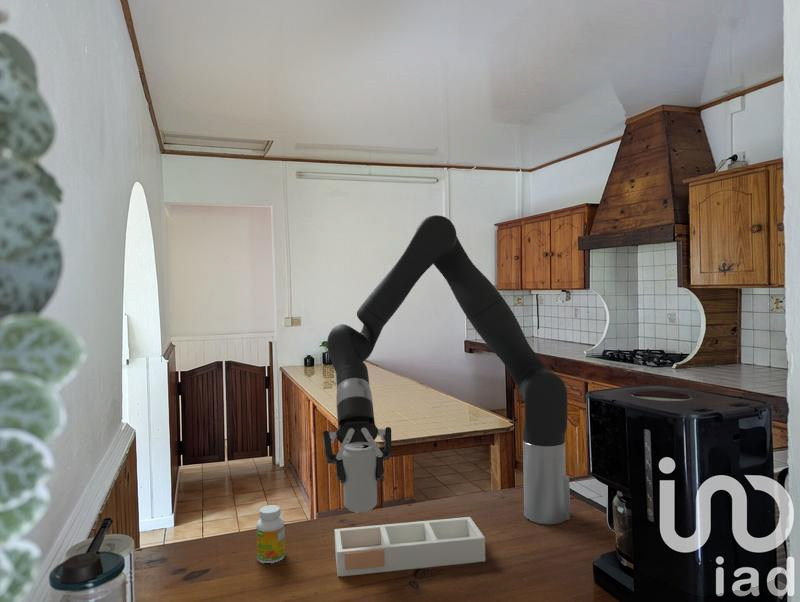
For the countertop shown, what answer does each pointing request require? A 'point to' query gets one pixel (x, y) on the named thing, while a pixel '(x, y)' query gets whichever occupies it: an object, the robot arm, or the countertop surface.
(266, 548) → the supplement bottle
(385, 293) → the robot arm
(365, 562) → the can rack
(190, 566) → the countertop surface
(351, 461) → the beverage can
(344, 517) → the countertop surface
